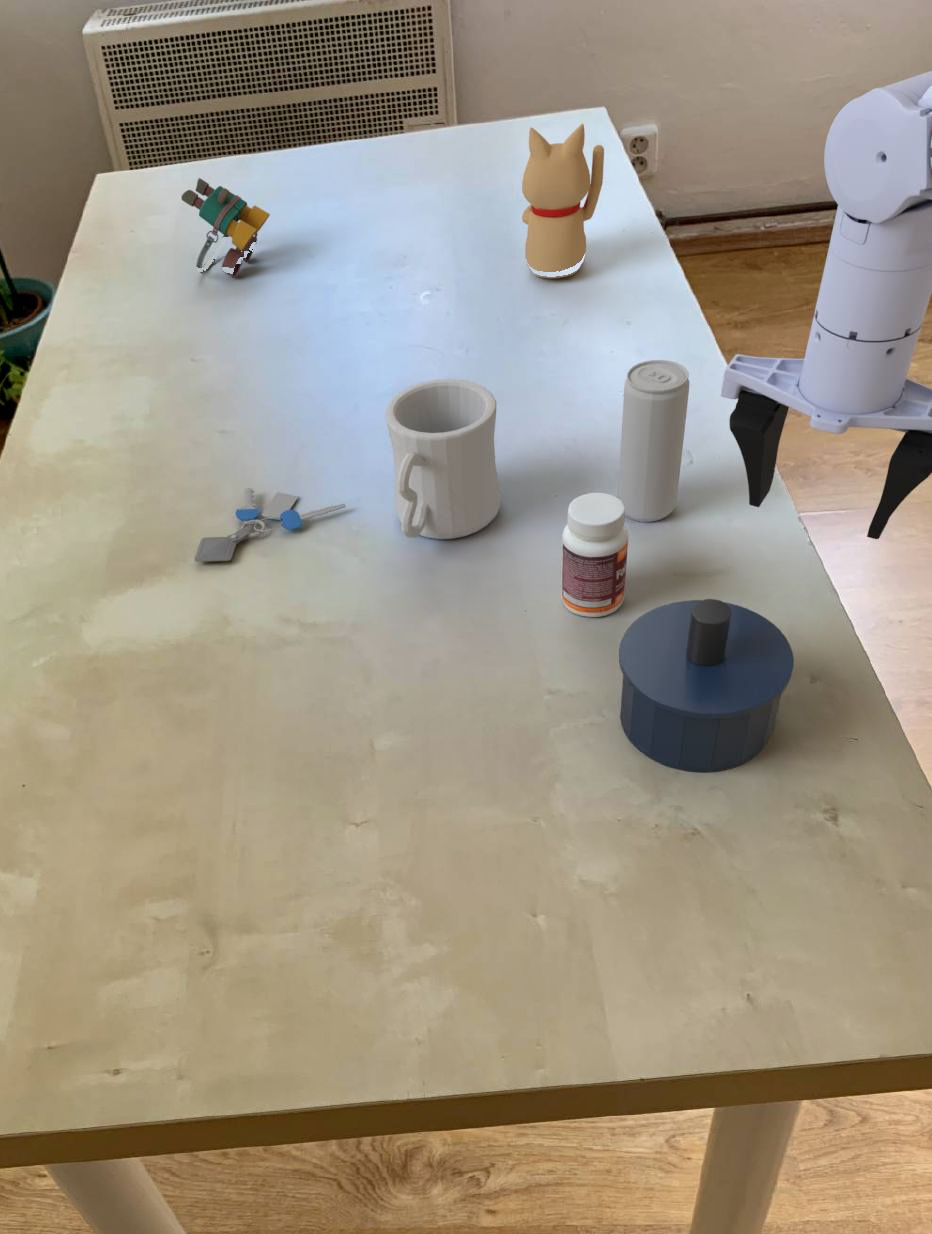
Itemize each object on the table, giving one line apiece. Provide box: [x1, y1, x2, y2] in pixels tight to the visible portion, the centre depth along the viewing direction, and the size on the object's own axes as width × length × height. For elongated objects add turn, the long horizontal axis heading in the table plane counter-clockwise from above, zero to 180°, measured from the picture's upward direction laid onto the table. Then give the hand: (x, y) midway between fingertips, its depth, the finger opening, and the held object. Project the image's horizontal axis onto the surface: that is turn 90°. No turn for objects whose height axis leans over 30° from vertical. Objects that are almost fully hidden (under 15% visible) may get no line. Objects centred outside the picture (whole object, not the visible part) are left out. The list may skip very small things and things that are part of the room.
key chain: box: [194, 487, 347, 563], centre depth 96 cm, size 14×8×1 cm, turn 121°
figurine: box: [521, 123, 605, 279], centre depth 117 cm, size 9×10×15 cm
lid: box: [618, 598, 795, 719], centre depth 69 cm, size 11×11×5 cm
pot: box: [619, 675, 783, 773], centre depth 73 cm, size 10×10×5 cm
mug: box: [384, 378, 502, 540], centre depth 89 cm, size 12×9×10 cm
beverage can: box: [617, 359, 690, 523], centre depth 87 cm, size 5×5×12 cm
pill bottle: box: [560, 492, 629, 618], centre depth 81 cm, size 5×5×8 cm
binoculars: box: [181, 177, 271, 279], centre depth 130 cm, size 9×9×10 cm
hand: (816, 513), depth 71 cm, fingers open, 7 cm apart
